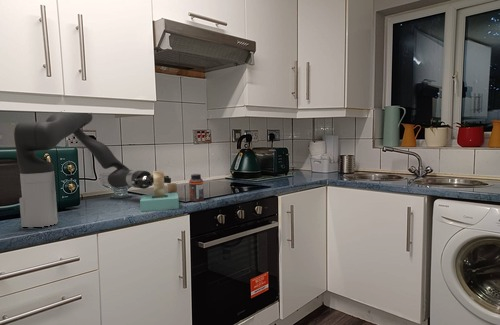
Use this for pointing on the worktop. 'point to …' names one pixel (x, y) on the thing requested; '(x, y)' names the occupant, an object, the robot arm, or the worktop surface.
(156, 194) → the tall peg
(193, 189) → the supplement bottle
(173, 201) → the socket block
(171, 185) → the short peg
